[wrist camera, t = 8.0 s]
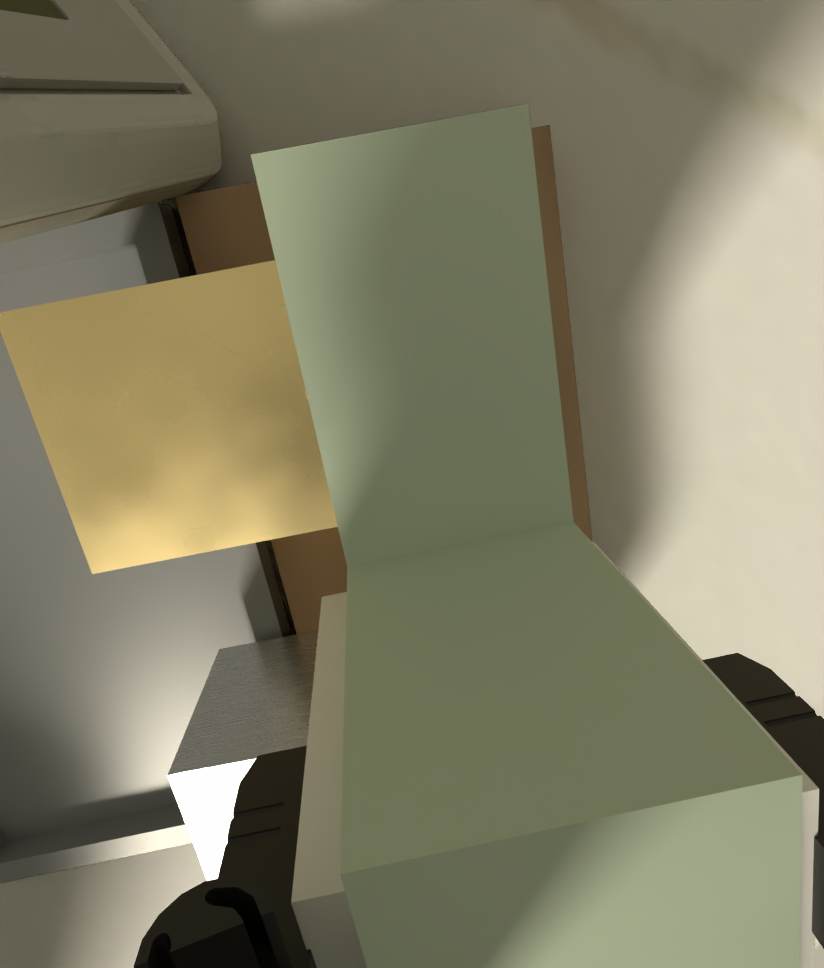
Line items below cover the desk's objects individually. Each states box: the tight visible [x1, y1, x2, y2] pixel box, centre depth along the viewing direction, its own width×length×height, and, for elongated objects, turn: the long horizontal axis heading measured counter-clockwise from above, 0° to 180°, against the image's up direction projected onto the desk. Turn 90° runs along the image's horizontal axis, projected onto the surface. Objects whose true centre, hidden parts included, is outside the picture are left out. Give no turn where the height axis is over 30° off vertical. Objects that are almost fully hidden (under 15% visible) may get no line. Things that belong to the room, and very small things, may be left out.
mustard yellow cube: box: [0, 260, 338, 574], centre depth 14 cm, size 5×5×5 cm
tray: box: [0, 202, 292, 883], centre depth 19 cm, size 12×19×1 cm, turn 10°
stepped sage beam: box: [251, 104, 802, 968], centre depth 11 cm, size 4×18×10 cm, turn 10°
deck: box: [175, 125, 592, 634], centre depth 19 cm, size 9×19×2 cm, turn 10°
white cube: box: [167, 630, 318, 881], centre depth 17 cm, size 5×5×5 cm
